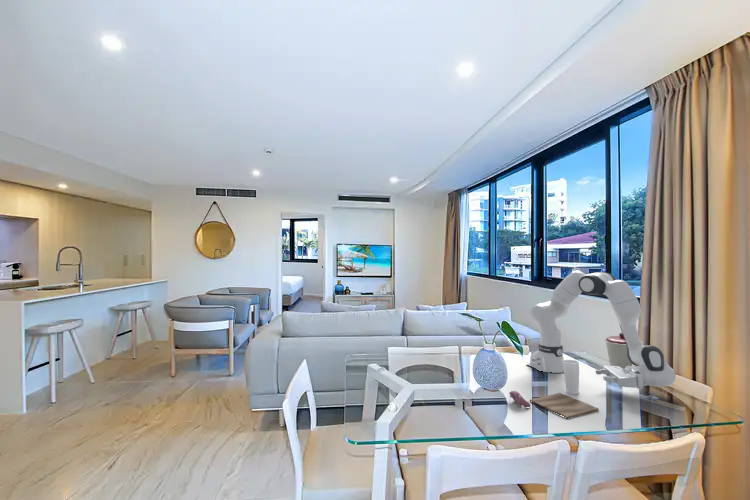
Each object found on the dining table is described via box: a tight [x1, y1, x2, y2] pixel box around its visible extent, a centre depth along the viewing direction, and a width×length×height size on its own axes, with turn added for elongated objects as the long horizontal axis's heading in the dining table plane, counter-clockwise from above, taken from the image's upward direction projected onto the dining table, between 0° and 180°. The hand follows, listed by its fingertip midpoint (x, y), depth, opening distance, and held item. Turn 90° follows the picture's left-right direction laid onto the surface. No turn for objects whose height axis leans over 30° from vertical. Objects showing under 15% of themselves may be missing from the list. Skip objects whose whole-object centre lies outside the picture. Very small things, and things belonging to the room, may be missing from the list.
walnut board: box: [529, 392, 600, 419], centre depth 160 cm, size 20×18×1 cm
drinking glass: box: [563, 359, 580, 396], centre depth 174 cm, size 7×7×15 cm
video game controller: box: [508, 390, 531, 408], centre depth 164 cm, size 10×5×7 cm, turn 5°
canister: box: [604, 331, 644, 369], centre depth 203 cm, size 18×18×21 cm
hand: (599, 375), depth 171 cm, fingers open, 8 cm apart
